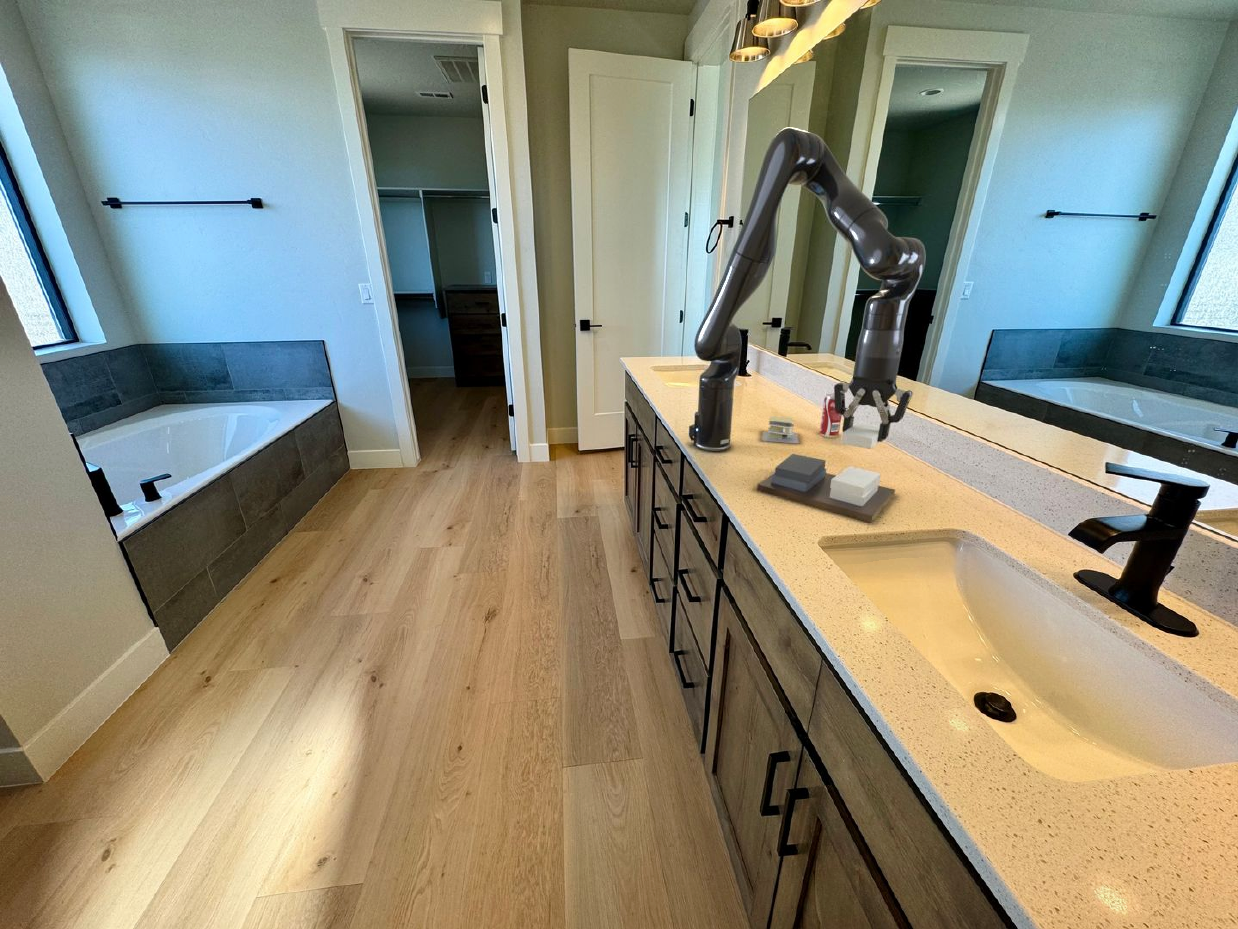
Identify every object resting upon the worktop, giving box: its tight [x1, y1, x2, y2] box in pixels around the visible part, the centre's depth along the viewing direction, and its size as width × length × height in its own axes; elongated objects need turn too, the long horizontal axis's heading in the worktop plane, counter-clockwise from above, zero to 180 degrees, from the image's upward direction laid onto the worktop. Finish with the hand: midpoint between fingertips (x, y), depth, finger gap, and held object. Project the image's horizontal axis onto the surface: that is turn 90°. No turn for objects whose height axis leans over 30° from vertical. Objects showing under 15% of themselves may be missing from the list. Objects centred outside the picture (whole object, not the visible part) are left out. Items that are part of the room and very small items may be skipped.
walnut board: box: [756, 472, 896, 524], centre depth 108 cm, size 24×16×2 cm, turn 48°
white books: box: [830, 466, 882, 506], centre depth 103 cm, size 7×10×4 cm
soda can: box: [819, 393, 843, 439], centre depth 143 cm, size 5×5×12 cm
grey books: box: [771, 453, 827, 492], centre depth 110 cm, size 8×11×4 cm
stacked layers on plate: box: [761, 416, 800, 444], centre depth 142 cm, size 10×9×6 cm
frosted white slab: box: [840, 421, 880, 450], centre depth 99 cm, size 6×10×2 cm, turn 138°
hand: (863, 437), depth 99 cm, fingers closed on frosted white slab, 5 cm apart
